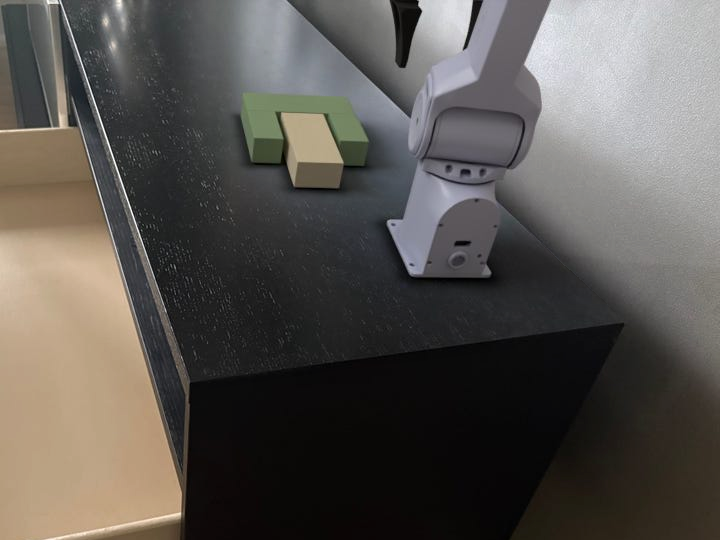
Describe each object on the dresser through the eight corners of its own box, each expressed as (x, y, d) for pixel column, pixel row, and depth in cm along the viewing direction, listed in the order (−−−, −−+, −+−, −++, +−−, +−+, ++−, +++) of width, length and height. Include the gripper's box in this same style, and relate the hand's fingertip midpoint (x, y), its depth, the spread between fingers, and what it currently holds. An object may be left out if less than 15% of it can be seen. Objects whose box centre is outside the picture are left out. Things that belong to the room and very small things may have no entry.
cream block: (339, 188, 82) (344, 163, 80) (293, 187, 81) (297, 161, 79) (319, 137, 91) (323, 113, 89) (278, 136, 90) (281, 112, 88)
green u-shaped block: (364, 165, 86) (369, 141, 84) (251, 162, 84) (254, 137, 82) (342, 119, 95) (347, 96, 93) (240, 116, 93) (242, 92, 91)
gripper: (519, -74, 80) (481, 55, 89) (388, -84, 78) (362, 49, 87) (546, -56, 75) (503, 79, 84) (405, -66, 73) (377, 74, 82)
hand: (432, 66), depth 85 cm, fingers open, 7 cm apart
